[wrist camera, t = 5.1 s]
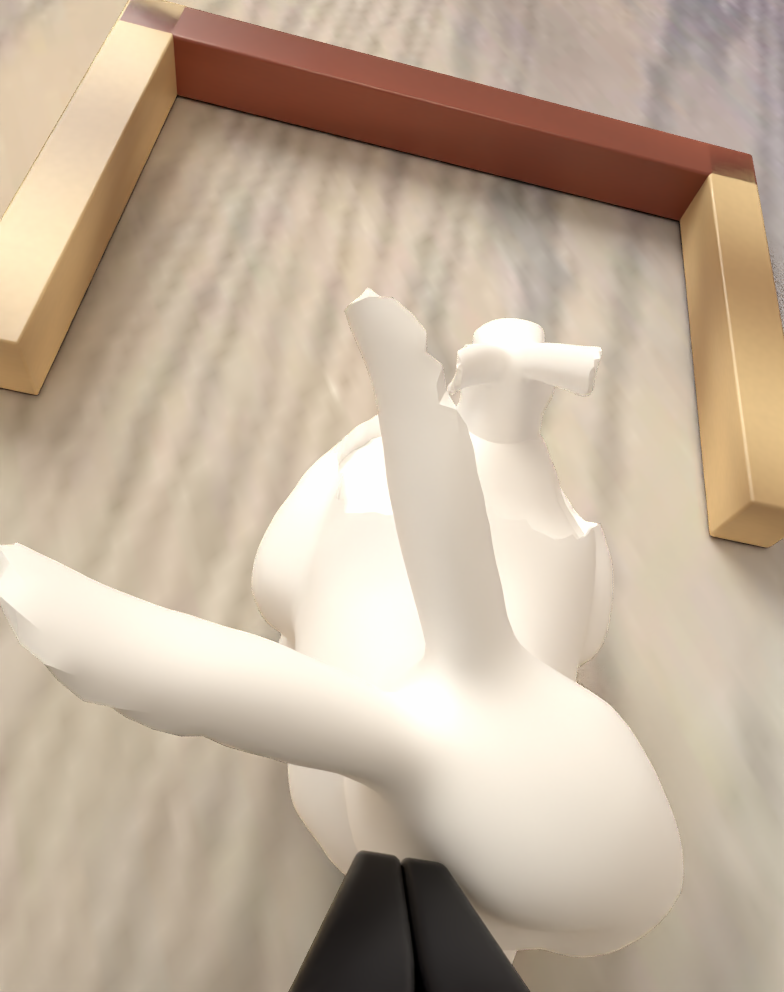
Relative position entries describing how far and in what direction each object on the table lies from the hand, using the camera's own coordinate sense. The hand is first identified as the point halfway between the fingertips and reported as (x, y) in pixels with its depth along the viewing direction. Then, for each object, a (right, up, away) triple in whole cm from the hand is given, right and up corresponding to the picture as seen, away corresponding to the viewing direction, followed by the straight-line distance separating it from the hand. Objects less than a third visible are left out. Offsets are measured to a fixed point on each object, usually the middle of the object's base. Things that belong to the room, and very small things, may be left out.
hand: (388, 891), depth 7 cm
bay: (+1, +10, +13) cm, 17 cm away
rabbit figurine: (-1, 0, +8) cm, 8 cm away
